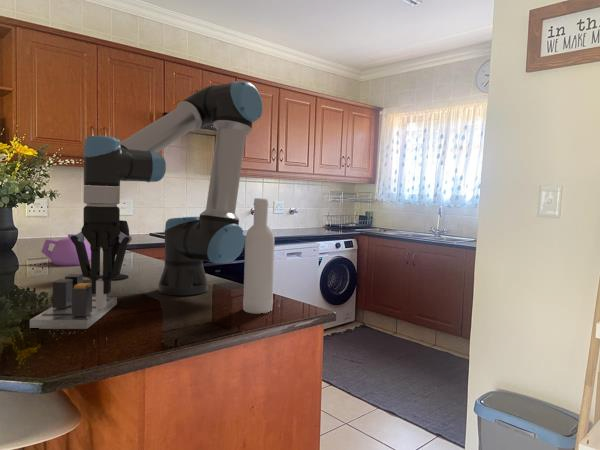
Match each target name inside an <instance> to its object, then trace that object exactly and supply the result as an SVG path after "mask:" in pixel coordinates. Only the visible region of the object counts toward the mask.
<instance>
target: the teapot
mask: <svg viewBox="0 0 600 450" xmlns="http://www.w3.org/2000/svg"><path fill="white" fill-rule="evenodd" d="M73 235H76V233H69V234H67V237H66V238H65V237H64V238H63V237H62V238H59V239H58V240H55V239H49V238H47V239H45V241H44V244H43V247H42V249H41V253H42V254H43V255H44V256H46V257H47V258H48V259H50V261H51V262H52V263H53V264H54V265H55V266H60V267H61V266H63V267H73V266H80V263H79V259H78V255H77V251H76V247H75V245H74V243H73V242H72V241H71V236H73ZM83 242H84V244H85V247H86V251H87V255H88V259H89V263H90V264H91V250H90V243H89V242H88V241H87V239H86V238H84V241H83ZM50 244H52V245H54V246H53V248H52V250H50V249H49V248H50Z"/></svg>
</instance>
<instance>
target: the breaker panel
mask: <svg viewBox="0 0 600 450" xmlns="http://www.w3.org/2000/svg"><path fill="white" fill-rule="evenodd" d="M79 283H84V277H83V275H82V273H70V274H68V275H65V276H64V278H59V279H57V280H55V281H52V306H51V307H49V308H47V309H46V310H44V311H43V312H41V313H39V314H37V315H35V316H34V317H32V318H31V319H29V329H30V328H39V329H40V330H44V329H45V330H47V329H48V330H63V329H64V330H66V329H67V330H73V329H74V330H75V329H76V330H86V329H87V330H88V329H89V328H90V327H91V326H92V325H94V324H95V323H96V322H97V321H99V320H100V319H101V318H102V317H103V316H104V315H106V314H107V313H108V312H109V311H110V310H112V309H113V308H114V307H115V306H117V304H118V297H117V296H106V307H105V308H104V309H96V296H92V312H91V313H90V314H88V315H87V316H72V289H73V288H74V286H75V285H77V284H79ZM39 329H38V330H39Z"/></svg>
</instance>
